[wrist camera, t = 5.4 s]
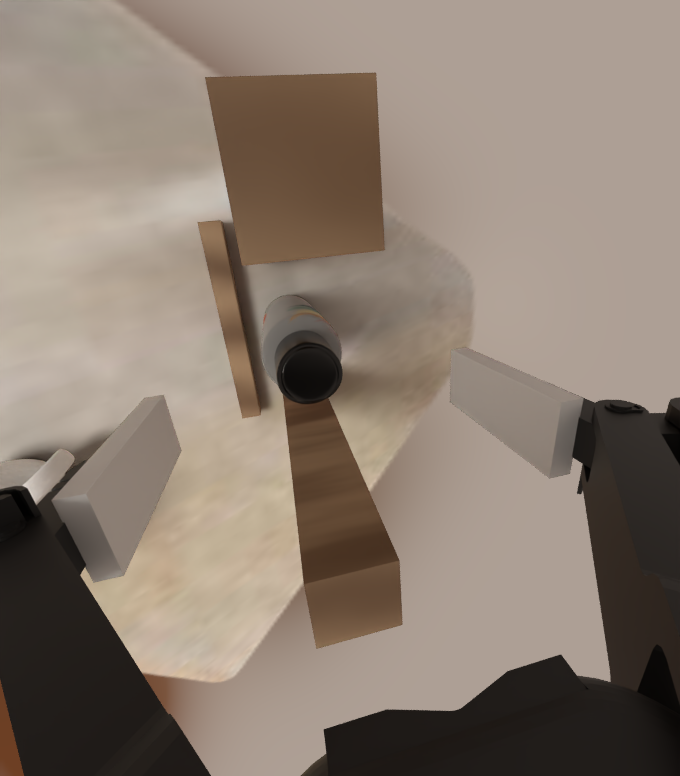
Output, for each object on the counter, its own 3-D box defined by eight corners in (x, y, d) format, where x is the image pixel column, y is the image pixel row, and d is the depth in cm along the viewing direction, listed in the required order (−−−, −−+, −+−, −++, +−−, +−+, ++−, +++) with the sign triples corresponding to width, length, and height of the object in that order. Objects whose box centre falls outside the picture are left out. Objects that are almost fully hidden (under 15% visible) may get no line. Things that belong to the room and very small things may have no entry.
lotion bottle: (272, 351, 38) (275, 434, 20) (257, 301, 36) (245, 342, 18) (320, 339, 39) (367, 408, 20) (308, 288, 37) (349, 316, 18)
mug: (44, 397, 35) (-71, 467, 23) (136, 459, 39) (79, 546, 27) (-47, 488, 37) (-202, 599, 25) (51, 538, 41) (-40, 654, 29)
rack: (201, 224, 33) (-50, 84, 7) (294, 216, 34) (376, 72, 8) (243, 411, 40) (199, 681, 14) (318, 398, 41) (402, 624, 16)
